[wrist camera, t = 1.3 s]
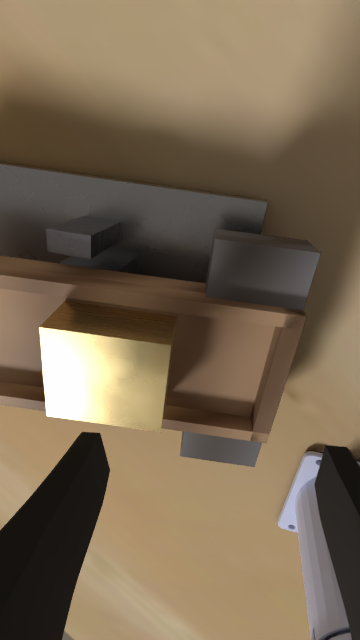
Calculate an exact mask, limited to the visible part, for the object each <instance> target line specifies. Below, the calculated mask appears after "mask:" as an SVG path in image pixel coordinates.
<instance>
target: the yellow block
mask: <svg viewBox="0 0 360 640" xmlns="http://www.w3.org/2000/svg"><path fill="white" fill-rule="evenodd" d="M176 320H177V316H171V315H163V314H156V313H149V312H142V311H134V310H127V309H120V308H113V307H105V306H98V305H91V304H84V303H76V302H69V301H64V302H63V303H62V304H61V305H60V306H59V307H58V308H57V309H56V310H55V311H54V312H53V313H52V314H51V316H50V317H49V318H48V319H47V320H46V321H45V322H44V323H43V324H42V325H41V326H40V327H39V331H40V343H41V354H42V366H43V377H44V389H45V400H46V412H47V416H51V417H58V418H65V419H72V420H79V421H86V422H93V423H100V424H107V425H114V426H121V427H127V428H134V429H141V430H148V431H155V432H161V428H162V422H163V417H164V411H165V405H166V399H167V393H168V385H169V377H170V369H171V361H172V352H173V344H174V336H175V328H176Z"/></svg>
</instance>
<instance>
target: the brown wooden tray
mask: <svg viewBox="0 0 360 640" xmlns="http://www.w3.org/2000/svg"><path fill="white" fill-rule="evenodd" d="M320 254H321V253H320V252H319V251H318V250H317V249H316V248H315V247H314V246H312V245H311V244H310V243H309V242H308V241H306V240H298V239H290V238H283V237H275V236H268V235H260V234H253V233H245V232H238V231H230V230H222V229H214V235H213V242H212V248H211V254H210V261H209V267H208V273H207V279H206V284H205V283H198V282H191V281H183V280H176V279H168V278H161V277H154V276H146V275H139V274H132V273H124V272H117V271H110V270H102V269H95V268H87V267H80V266H73V265H65V264H58V263H51V262H43V261H36V260H29V259H21V258H14V257H6V256H0V405H5V406H12V407H19V408H26V409H32V410H39V411H46V400H45V389H44V377H43V366H42V354H41V343H40V331H39V327H40V326H41V325H42V324H43V323H44V322H45V321H46V320H47V319H48V318H49V317H50V316H51V314H52V313H53V312H54V311H55V310H56V309H57V308H58V307H59V306H60V305H61V304H62V303H63V302H64V301H69V302H76V303H84V304H91V305H98V306H105V307H113V308H120V309H127V310H134V311H142V312H149V313H156V314H163V315H171V316H177V320H176V328H175V336H174V344H173V352H172V361H171V369H170V377H169V385H168V393H167V399H166V405H165V411H164V417H163V422H162V428H164V429H171V430H178V431H183V432H182V442H181V453H180V456H182V457H189V458H196V459H203V460H210V461H217V462H223V463H230V464H237V465H244V466H251V467H255V463H256V460H257V457H258V454H259V451H260V447H261V444H262V443H267V440H268V437H269V434H270V431H271V428H272V424H273V421H274V418H275V415H276V412H277V409H278V406H279V402H280V399H281V396H282V393H283V390H284V387H285V384H286V381H287V377H288V374H289V371H290V368H291V365H292V362H293V359H294V356H295V352H296V349H297V346H298V343H299V340H300V337H301V334H302V330H303V327H304V324H305V321H306V318H307V316H306V314H305V313H304V311H303V309H304V306H305V303H306V299H307V296H308V293H309V290H310V286H311V283H312V280H313V277H314V274H315V270H316V267H317V264H318V261H319V257H320Z"/></svg>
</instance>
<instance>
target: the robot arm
mask: <svg viewBox="0 0 360 640" xmlns="http://www.w3.org/2000/svg"><path fill="white" fill-rule="evenodd" d="M317 460H321V461H317ZM109 472H110V468H109V465H108V461H107V457H106V453H105V450H104V446H103V442H102V438H101V435H100V433H90V432H82V433H81V434H80V435H79V436H78V438H77V439H76V440H75V442H74V443H73V444H72V446H71V447H70V448H69V449H68V451H67V452H66V453H65V455H64V456H63V457H62V459H61V460H60V461H59V462H58V464H57V465H56V466H55V468H54V469H53V470H52V471H51V473H50V474H49V475H48V476H47V477H46V479H45V480H44V481H43V482H42V484H41V485H40V486H39V487H38V488H37V490H36V491H35V492H34V493H33V494H32V496H31V497H30V498H29V499H28V500H27V501H26V502H25V504H24V505H23V506H22V507H21V508H20V509H19V510H18V511H17V513H16V514H15V515H14V516H13V517H12V518H11V519H10V520H9V522H8V523H7V524H6V525H5V526H4V527H3V528H2V529H1V530H0V640H62V636H63V632H64V628H65V624H66V620H67V616H68V612H69V608H70V604H71V600H72V596H73V592H74V589H75V586H76V582H77V579H78V576H79V573H80V570H81V567H82V564H83V561H84V558H85V555H86V552H87V549H88V546H89V543H90V540H91V537H92V534H93V531H94V528H95V525H96V522H97V519H98V516H99V513H100V510H101V507H102V504H103V500H104V495H105V491H106V487H107V482H108V477H109ZM278 525H279V527H280V528H282V529H285V530H289V531H293V532H297V533H298V538H299V546H300V554H301V563H302V571H303V579H304V588H305V596H306V604H307V612H308V621H309V629H310V637H311V640H360V462H358V461H356V459H355V458H354V456H353V455H352V453H351V452H350V450H349V449H348V448H347V447H338V446H325V449H324V453H318V452H314V451H308V452H306V453H305V454H304V455H303V458H302V460H301V463H300V465H299V468H298V470H297V473H296V475H295V478H294V480H293V483H292V485H291V488H290V490H289V493H288V496H287V498H286V501H285V503H284V506H283V508H282V511H281V513H280V516H279V518H278Z"/></svg>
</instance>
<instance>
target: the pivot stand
mask: <svg viewBox="0 0 360 640" xmlns="http://www.w3.org/2000/svg"><path fill="white" fill-rule="evenodd" d="M267 203H268V202H267V200H262V199H255V198H248V197H241V196H234V195H227V194H220V193H213V192H206V191H199V190H192V189H185V188H178V187H171V186H164V185H157V184H150V183H143V182H136V181H129V180H121V179H114V178H107V177H100V176H93V175H86V174H79V173H72V172H65V171H58V170H51V169H44V168H37V167H30V166H23V165H16V164H9V163H2V162H0V256H6V257H14V258H21V259H29V260H36V261H43V262H51V263H58V264H65V265H73V266H80V267H87V268H95V269H102V270H110V271H117V272H124V273H132V274H139V275H146V276H154V277H161V278H168V279H176V280H183V281H191V282H198V283H205V284H206V279H207V273H208V267H209V261H210V254H211V248H212V242H213V235H214V229H222V230H230V231H238V232H245V233H253V234H260V235H261V230H262V226H263V221H264V217H265V212H266V208H267Z"/></svg>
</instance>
